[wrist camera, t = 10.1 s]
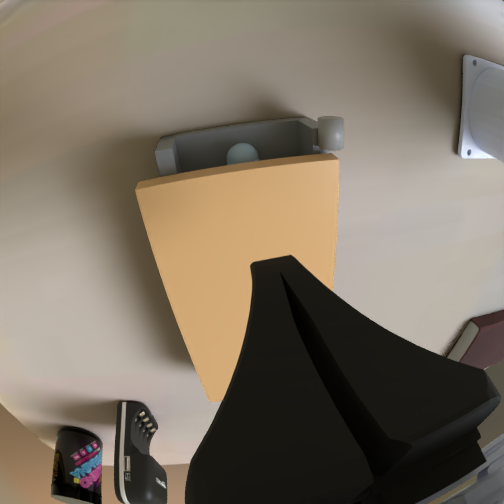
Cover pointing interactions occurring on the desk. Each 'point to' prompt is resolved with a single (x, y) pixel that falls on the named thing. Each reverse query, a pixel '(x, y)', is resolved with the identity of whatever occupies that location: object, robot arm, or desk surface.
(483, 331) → the book
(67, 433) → the supplement container
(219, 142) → the grey tray with rod
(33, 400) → the desk surface
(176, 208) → the cover
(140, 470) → the battery charger
